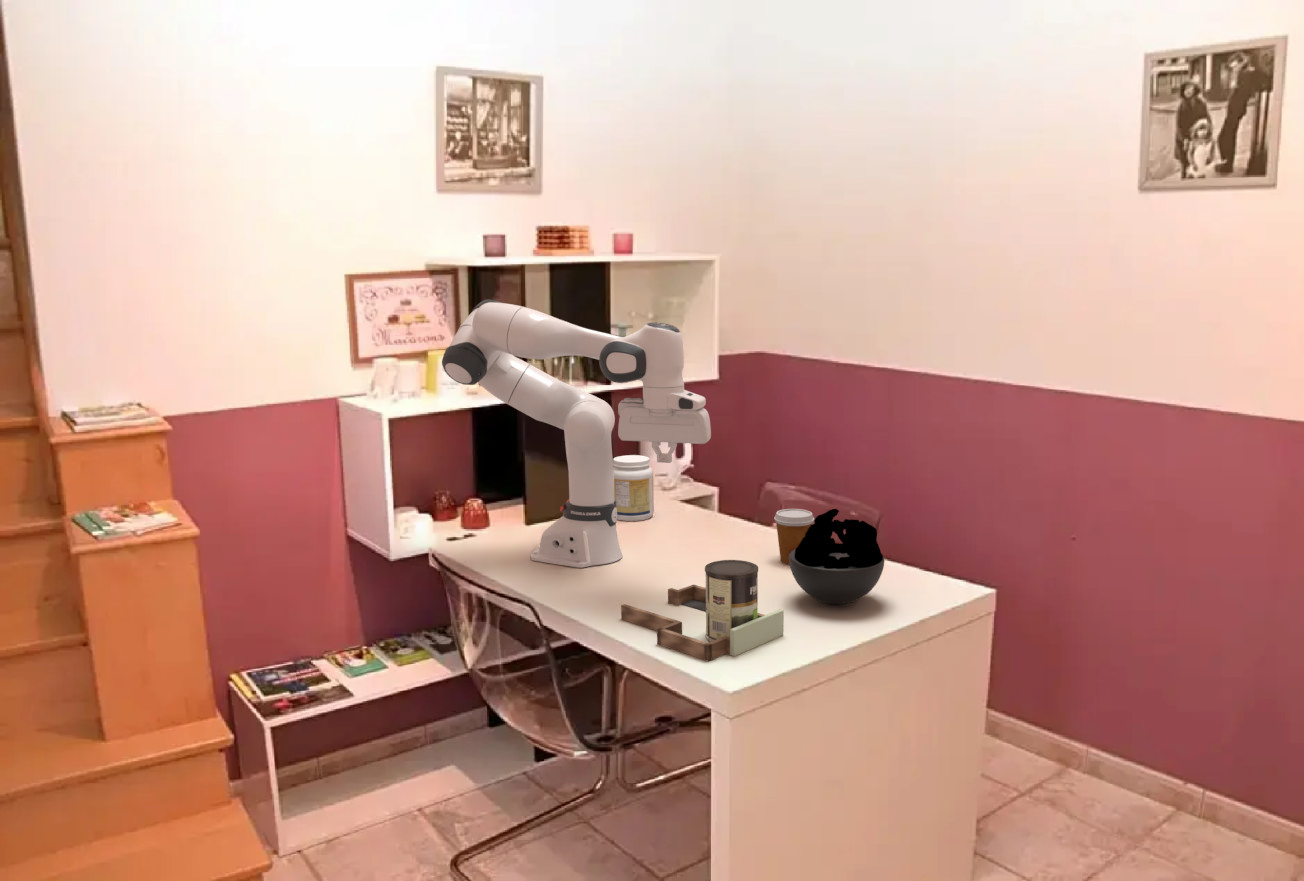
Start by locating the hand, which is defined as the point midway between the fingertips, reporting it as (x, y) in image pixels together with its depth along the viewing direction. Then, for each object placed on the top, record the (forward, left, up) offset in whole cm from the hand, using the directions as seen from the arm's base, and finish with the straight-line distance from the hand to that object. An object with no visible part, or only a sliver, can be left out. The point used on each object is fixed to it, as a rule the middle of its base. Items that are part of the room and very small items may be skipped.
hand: (664, 462), depth 228 cm
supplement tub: (-29, +61, -29) cm, 74 cm away
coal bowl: (+37, +3, -29) cm, 47 cm away
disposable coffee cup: (+23, +30, -29) cm, 48 cm away
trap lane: (+13, -20, -29) cm, 38 cm away
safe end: (+26, -26, -29) cm, 47 cm away
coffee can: (+21, -23, -29) cm, 43 cm away
